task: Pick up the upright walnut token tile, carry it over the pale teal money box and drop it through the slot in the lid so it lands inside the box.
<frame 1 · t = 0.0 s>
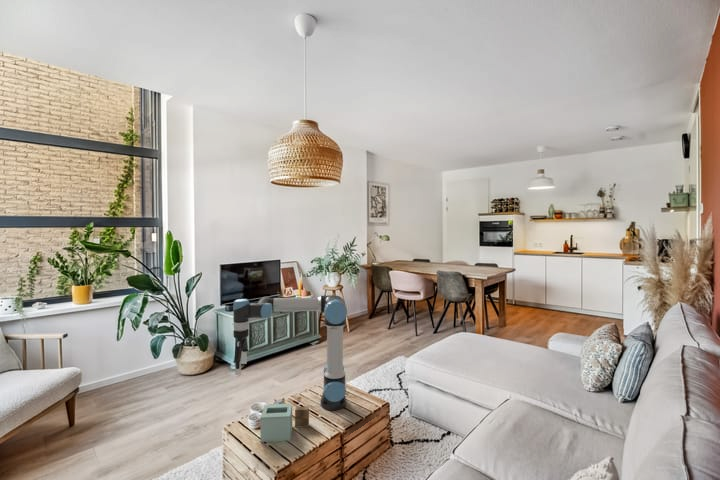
hand: (241, 368, 183), 28 cm above the table, fingers open, 13 cm apart
token: (302, 425, 181), on the table
game die: (279, 414, 192), on the table
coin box: (276, 433, 173), on the table
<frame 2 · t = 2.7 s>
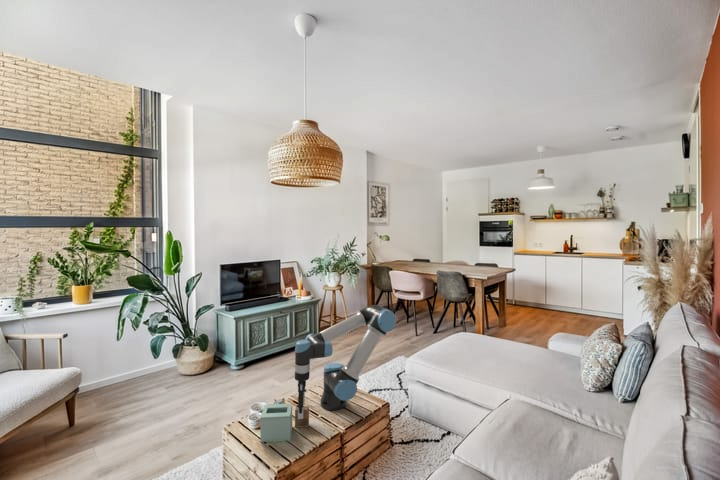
hand: (301, 411, 181), 7 cm above the table, fingers open, 13 cm apart
nothing on the table moved.
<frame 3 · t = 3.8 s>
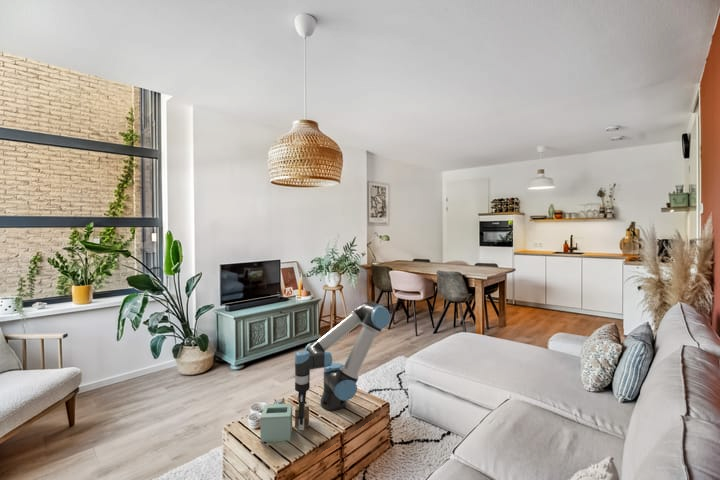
hand: (302, 422, 181), 1 cm above the table, fingers open, 11 cm apart
nothing on the table moved.
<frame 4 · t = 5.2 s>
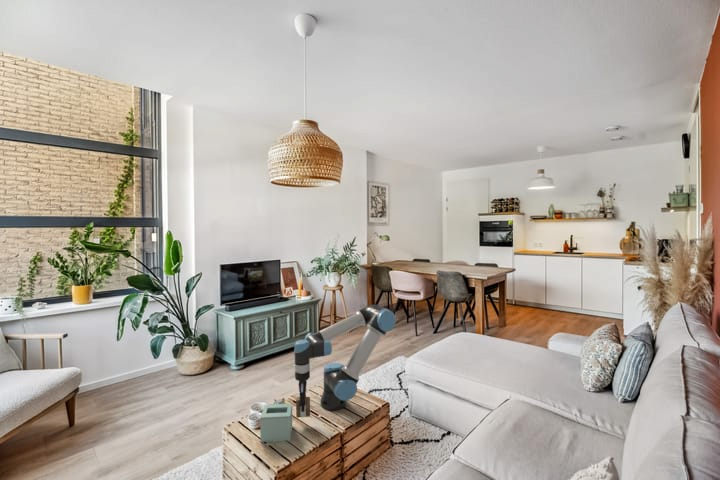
hand: (303, 414, 181), 5 cm above the table, fingers closed on token, 3 cm apart
token: (303, 415, 181), point 5 cm above the table, touching gripper
everything else where it was.
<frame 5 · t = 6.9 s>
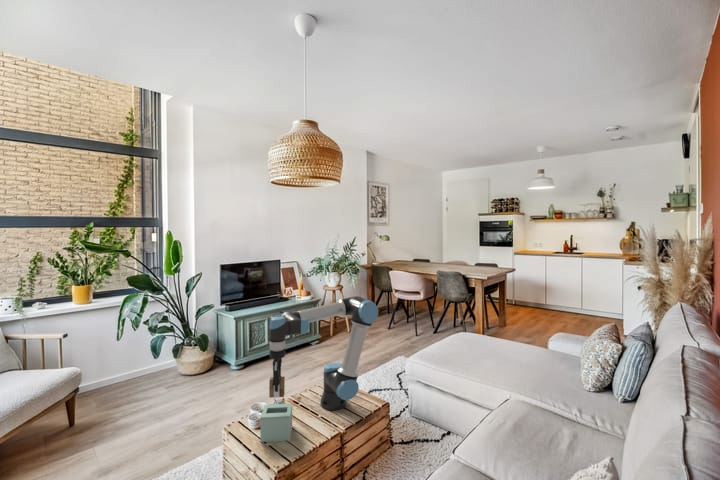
hand: (277, 395, 172), 20 cm above the table, fingers closed on token, 3 cm apart
token: (276, 395, 172), point 19 cm above the table, touching gripper
everything else where it was.
when the fingers open (13 cm above the table, at t = 8.6 s): token drops 11 cm, resting on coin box.
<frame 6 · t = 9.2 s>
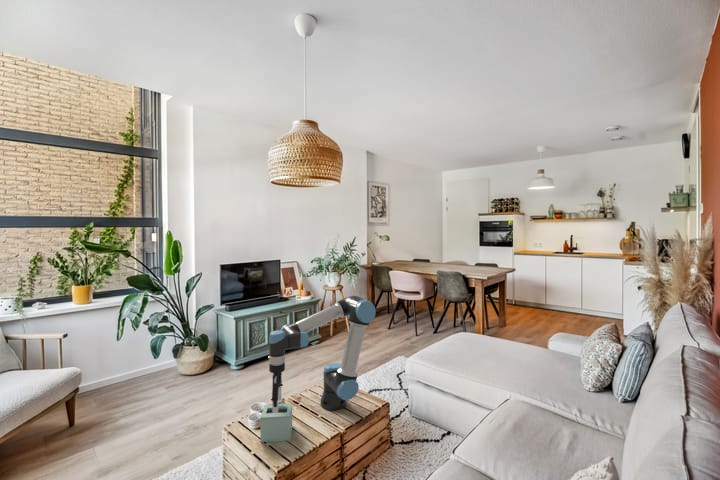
hand: (277, 405, 173), 14 cm above the table, fingers open, 11 cm apart
token: (277, 431, 174), point 1 cm above the table, tilted 21°, touching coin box
everything else where it was.
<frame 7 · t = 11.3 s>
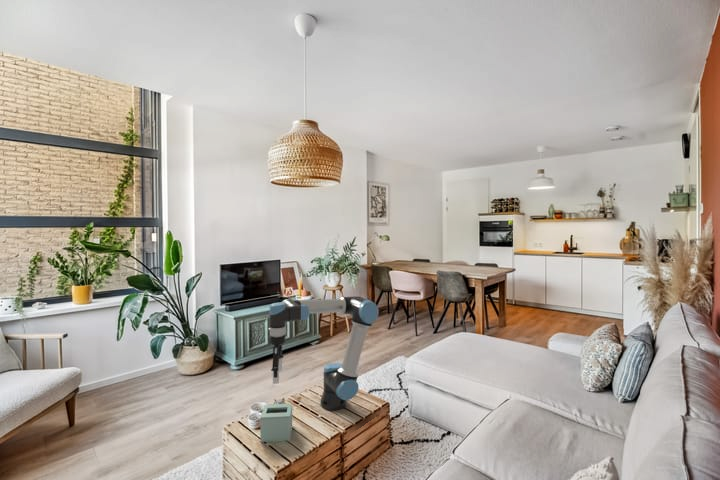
hand: (277, 377, 172), 29 cm above the table, fingers open, 13 cm apart
nothing on the table moved.
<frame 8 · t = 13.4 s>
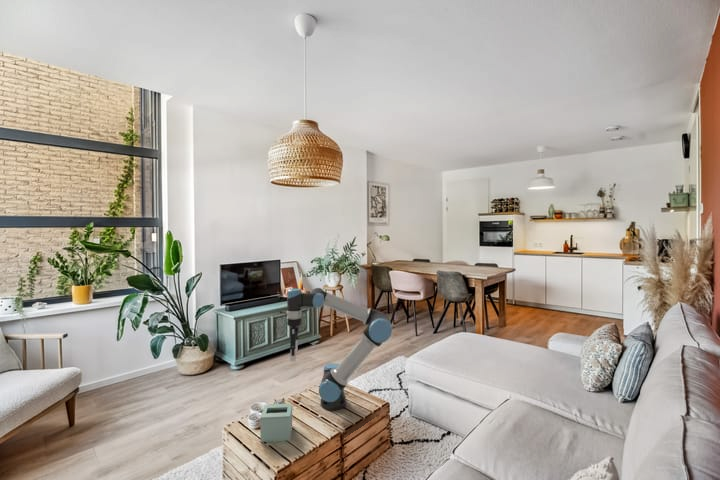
hand: (294, 356, 189), 33 cm above the table, fingers open, 13 cm apart
nothing on the table moved.
at the end: token inside the target area on the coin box (0.3 cm from its centre), point 1.1 cm above the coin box's base; the gripper is holding nothing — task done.
